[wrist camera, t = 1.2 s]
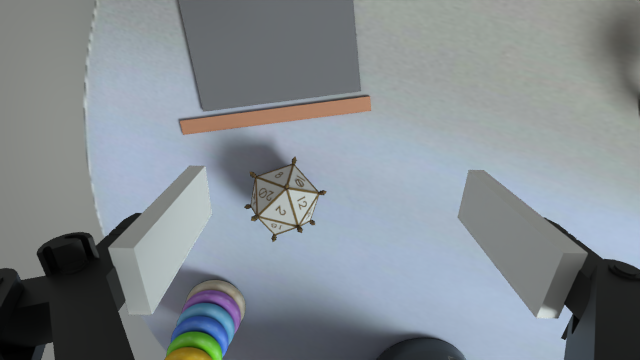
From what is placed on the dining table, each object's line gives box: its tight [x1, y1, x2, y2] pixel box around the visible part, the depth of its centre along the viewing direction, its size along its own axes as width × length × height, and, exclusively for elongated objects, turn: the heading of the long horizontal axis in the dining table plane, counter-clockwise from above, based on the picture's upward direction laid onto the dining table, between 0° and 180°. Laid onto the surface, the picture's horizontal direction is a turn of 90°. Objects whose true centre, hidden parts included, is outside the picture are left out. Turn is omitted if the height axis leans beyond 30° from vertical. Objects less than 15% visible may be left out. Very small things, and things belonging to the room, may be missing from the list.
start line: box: [180, 96, 371, 135], centre depth 36 cm, size 2×22×1 cm, turn 97°
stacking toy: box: [165, 280, 246, 360], centre depth 34 cm, size 8×8×19 cm
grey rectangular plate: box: [179, 0, 361, 112], centre depth 34 cm, size 13×18×1 cm
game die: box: [244, 157, 326, 242], centre depth 35 cm, size 9×8×10 cm
